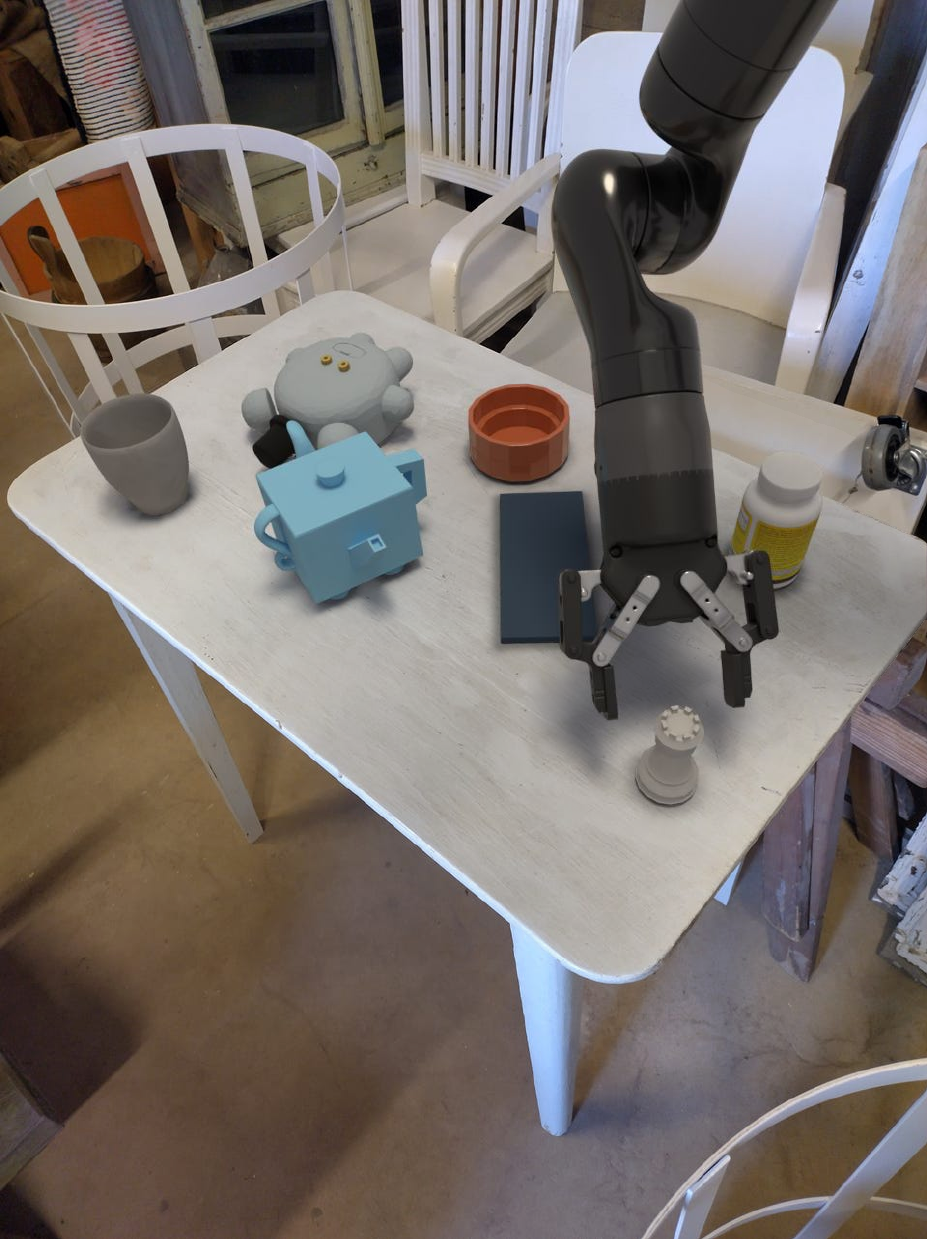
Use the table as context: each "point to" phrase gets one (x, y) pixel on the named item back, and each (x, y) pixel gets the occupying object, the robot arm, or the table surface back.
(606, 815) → the table surface
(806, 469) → the pill bottle
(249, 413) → the figurine
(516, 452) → the bowl
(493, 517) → the table surface
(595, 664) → the robot arm
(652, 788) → the rook chess piece
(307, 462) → the teapot
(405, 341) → the table surface
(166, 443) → the mug
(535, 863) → the table surface
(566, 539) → the rectangular board
